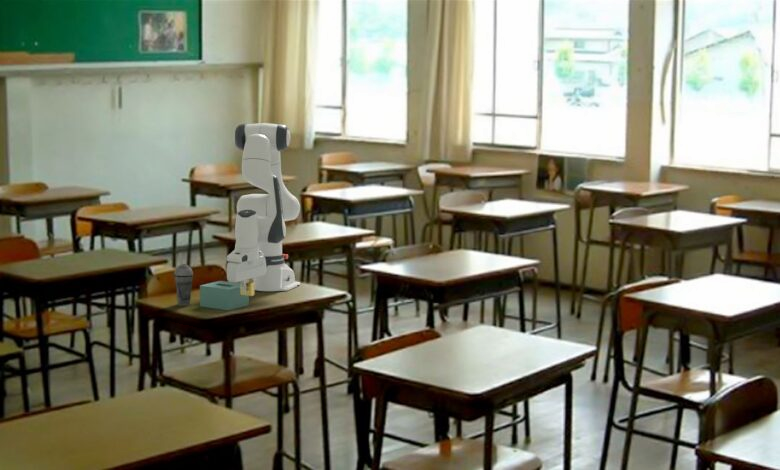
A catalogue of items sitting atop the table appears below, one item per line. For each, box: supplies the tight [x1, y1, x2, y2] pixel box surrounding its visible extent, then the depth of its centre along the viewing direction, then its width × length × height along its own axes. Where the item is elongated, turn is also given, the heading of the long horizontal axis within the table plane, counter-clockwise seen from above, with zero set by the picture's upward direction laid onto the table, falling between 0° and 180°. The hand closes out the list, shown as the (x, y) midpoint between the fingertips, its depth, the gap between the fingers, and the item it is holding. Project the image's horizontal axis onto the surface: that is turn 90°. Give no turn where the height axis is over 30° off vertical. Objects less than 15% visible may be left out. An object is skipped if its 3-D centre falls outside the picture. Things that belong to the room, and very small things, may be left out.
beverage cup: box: [173, 252, 194, 307], centre depth 460 cm, size 7×7×20 cm
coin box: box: [199, 280, 250, 311], centre depth 460 cm, size 12×14×8 cm
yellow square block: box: [240, 280, 255, 297], centre depth 451 cm, size 2×5×5 cm, turn 60°
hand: (247, 290), depth 451 cm, fingers closed on yellow square block, 2 cm apart
